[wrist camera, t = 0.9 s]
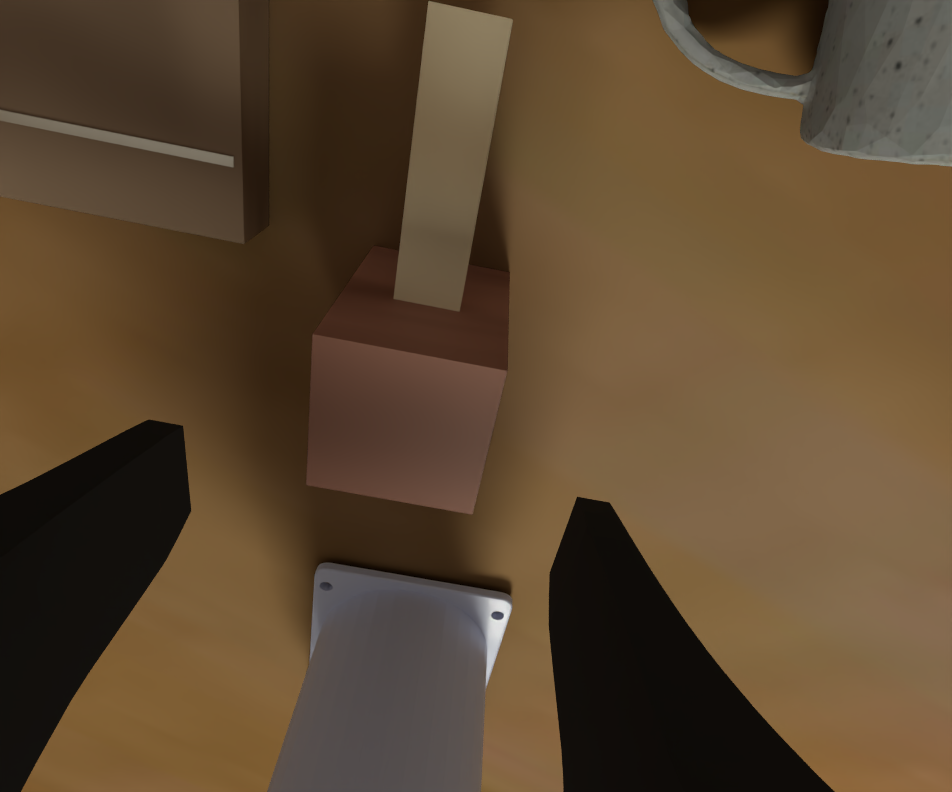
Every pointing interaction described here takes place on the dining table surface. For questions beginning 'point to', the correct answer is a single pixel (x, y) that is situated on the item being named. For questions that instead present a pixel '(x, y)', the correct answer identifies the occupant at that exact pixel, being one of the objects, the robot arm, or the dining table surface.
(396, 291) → the block with upright post
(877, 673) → the dining table surface
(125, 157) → the board
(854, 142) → the ceramic mug
